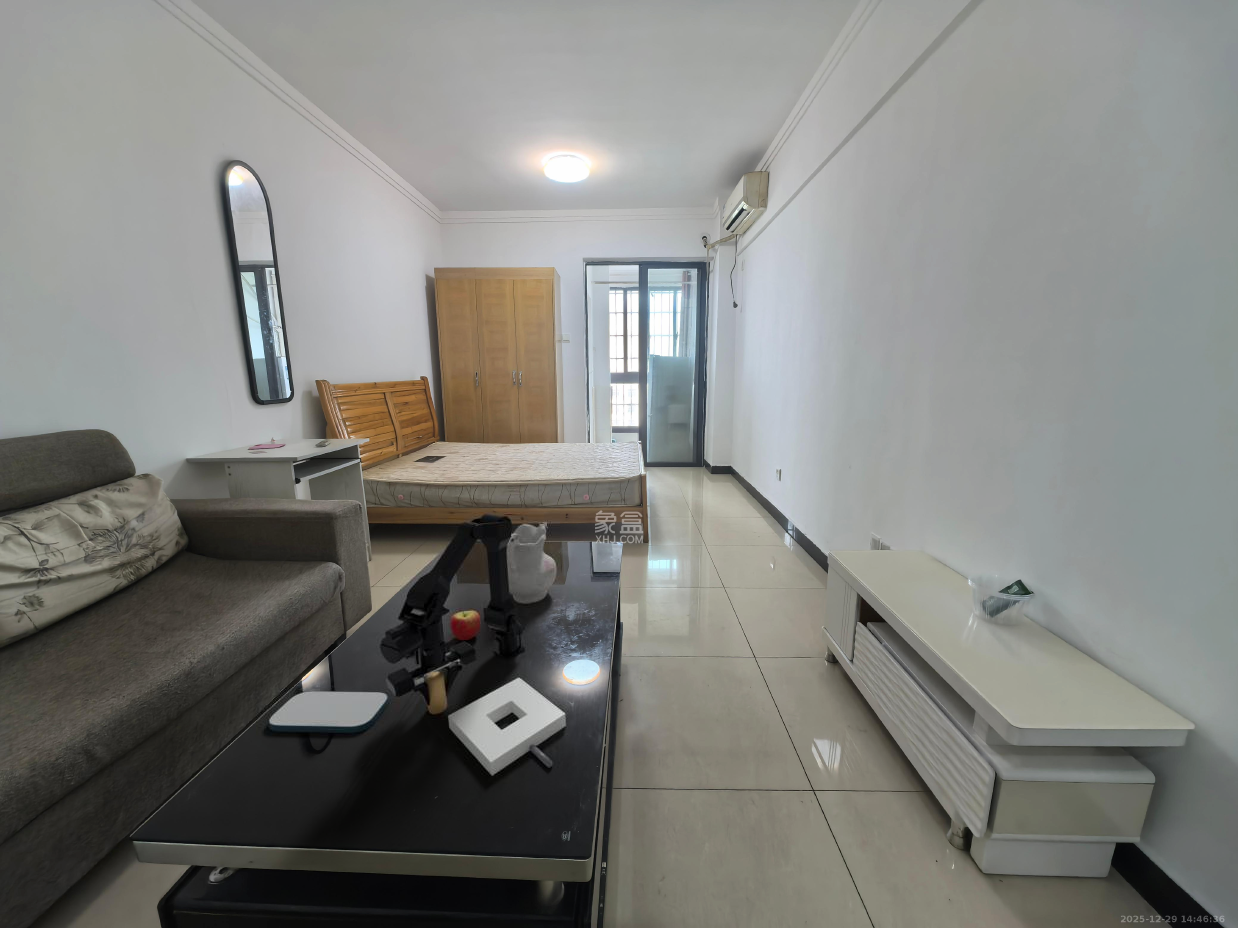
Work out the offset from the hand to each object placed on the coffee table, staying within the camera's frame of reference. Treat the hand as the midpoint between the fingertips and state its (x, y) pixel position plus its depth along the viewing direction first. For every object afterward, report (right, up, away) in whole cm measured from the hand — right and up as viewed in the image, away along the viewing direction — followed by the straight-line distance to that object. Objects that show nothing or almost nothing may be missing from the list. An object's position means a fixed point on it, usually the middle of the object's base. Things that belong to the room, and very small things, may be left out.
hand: (437, 699), depth 109 cm
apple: (-3, +3, +30) cm, 30 cm away
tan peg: (0, -2, 0) cm, 2 cm away
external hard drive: (-24, -3, -1) cm, 24 cm away
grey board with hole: (+20, -3, -8) cm, 22 cm away
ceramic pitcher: (+11, +8, +54) cm, 56 cm away
